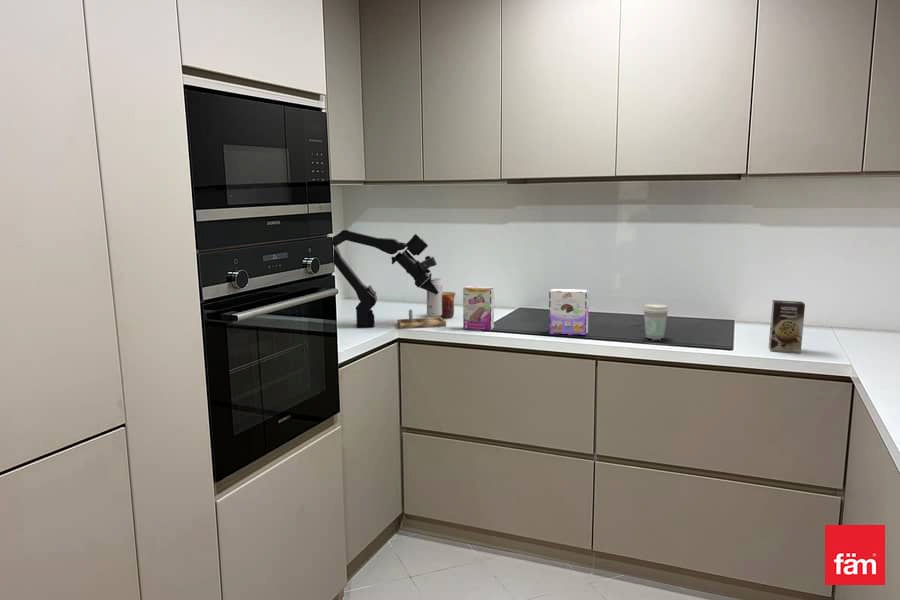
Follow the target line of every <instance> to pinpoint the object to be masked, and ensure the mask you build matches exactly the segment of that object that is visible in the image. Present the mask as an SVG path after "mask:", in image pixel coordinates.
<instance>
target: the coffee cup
mask: <svg viewBox="0 0 900 600" xmlns="http://www.w3.org/2000/svg"><path fill="white" fill-rule="evenodd" d="M642 311H643V317H644V330H645V331H644V332H645V338H646V337H647V338H653V339H661V338H663V339H664V336H665V330H666V324H667V319H668V313H669V308H668V305H666V304H661V303H647V304H645V305H644V308H643V310H642Z"/></svg>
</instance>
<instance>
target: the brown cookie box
mask: <svg viewBox="0 0 900 600" xmlns="http://www.w3.org/2000/svg"><path fill="white" fill-rule="evenodd" d="M805 308H806V304H805V302H803V301H796V300H795V301H793V300H780V299H779V300H778V299H777V300H776V299H772V304H771V316H770V325H769V327H770V328H769V339H768V349H769V351H770V352H778V353H779V352H780V353H791V354H801V353H802V343H803V342H802V341H803V331H804V322H805V321H804V320H805Z"/></svg>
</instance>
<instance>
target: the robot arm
mask: <svg viewBox="0 0 900 600" xmlns="http://www.w3.org/2000/svg"><path fill="white" fill-rule="evenodd" d="M332 237H333V245H334V263H333V264H334V266H335V267H336V268H337V270H338V271H339V272H340V273H341V275H342V276H343V277H344V279H346V281H347V282H348V284H349V285H350V286H351V288H352V289H353V290H354V292H355V294H356V296H357V298H358V300H359V302H358V304H357V305H356V306H355V310H356V311H355V312H356V313H355V317H356V318H355V319H356V320H355V321H356V323H355V325H356V328H358V329H359V328H362V329H363V328H374V327H375V322H376V321H375V314H374V313H373V312H374V311H373V309H372V308H374V306H375V305H376V303H377V300H378V296H377V292H376V291H375V290H374V289H373V287H372V285H369V286H366V284H364V283H363V281H362V280H361V279H360V278H359V277H358V276H357V274H356V273H355V271H354V270H353V269H352V267H351V266H350V265H349V264H348V263H347V261H346V260H345V259H344V258H343V257H342V255H341V251H340V250H339V247H338V246H339V245H341V244H342V243H344V242H345V241H348V242H352V243H356V244H360V245H364V246H368V247H372V248H376V249H378V250H380V251H381V252H384V253H385V254H389V255H395V254H396V255H395V256H391V257H390V258H391V264H392V265H394V264H395V263H396V262H397V263H398V264H399V265H400V266H401V267H402V268H403V269H404V270H405V272H406V274H409V276H411V278H412V279H413V280H414V285H415V286H416V287H417V288H418V289H422V290H425V291H426V292H427V291H429V292H432V293H434V294H438V293H439V292H438V291H437V289H436V288H435V286H434V285H433V284H432V282H431V278H432V271H431V270H430V269H429V268H432V267H435V266H437V265H438V264H437V261H436V259H435V257H434V256H430V255H427V256H425V258H424V260H422V261H419V260H417V259H415V256H420V255H421V253H423V252H424V251H425V250H426V249H427V247H429V245H428V244H427V242H426V241H425V240H424V239H423V238H421V237H420V236H419V235H417V233H415V234H414V235H412V237H411V238H410V239H409V241H407V243H406V242H401V241H398V239H396V238H392V237H391V238H390V237H389V238H388V237H376V236H372V235H368V234H363V233H360V232H355V231H351V230H349V229H343V230H341V231H340V232H339V233H337V234H336V235H334V236H332ZM398 251H399V252H398ZM401 251H402V252H401Z"/></svg>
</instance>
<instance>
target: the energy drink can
mask: <svg viewBox="0 0 900 600" xmlns="http://www.w3.org/2000/svg"><path fill="white" fill-rule="evenodd" d="M431 282H432V284H433V285H434V286H435V288H436V289H437V291H438V292H439V293H438V294H434V293H432V292H429V291H427V290H426V315H427V318H438V317H441V315H442V292H443V282H442V279H441V278H439V277H431Z"/></svg>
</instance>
